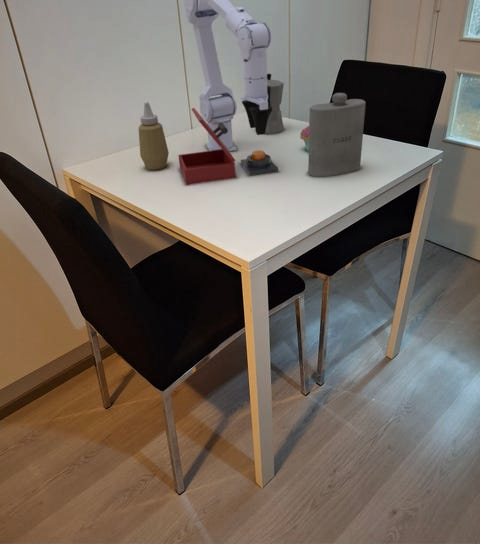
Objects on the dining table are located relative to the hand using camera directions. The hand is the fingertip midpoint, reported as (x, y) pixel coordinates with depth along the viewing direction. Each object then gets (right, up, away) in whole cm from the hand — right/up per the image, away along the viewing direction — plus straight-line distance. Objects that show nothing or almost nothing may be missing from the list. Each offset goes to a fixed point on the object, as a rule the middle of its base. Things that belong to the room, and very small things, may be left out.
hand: (257, 130), depth 129 cm
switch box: (+1, -9, +6) cm, 10 cm away
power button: (0, -6, +4) cm, 8 cm away
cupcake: (+18, -1, +16) cm, 24 cm away
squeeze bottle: (-29, -7, +11) cm, 32 cm away
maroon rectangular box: (-14, -10, +4) cm, 18 cm away
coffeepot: (+5, +9, +33) cm, 35 cm away
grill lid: (-12, -1, -1) cm, 12 cm away
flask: (+21, -11, +1) cm, 24 cm away
